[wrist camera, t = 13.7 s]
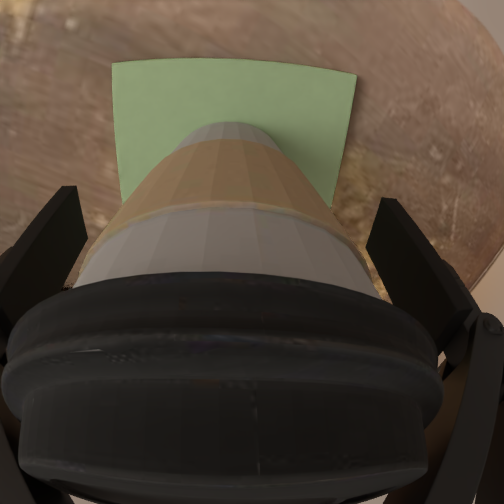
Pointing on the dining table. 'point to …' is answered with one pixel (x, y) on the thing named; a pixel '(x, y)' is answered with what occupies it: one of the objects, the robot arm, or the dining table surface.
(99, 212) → the dining table surface
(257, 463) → the coffee cup
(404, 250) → the robot arm
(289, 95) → the sage mat
